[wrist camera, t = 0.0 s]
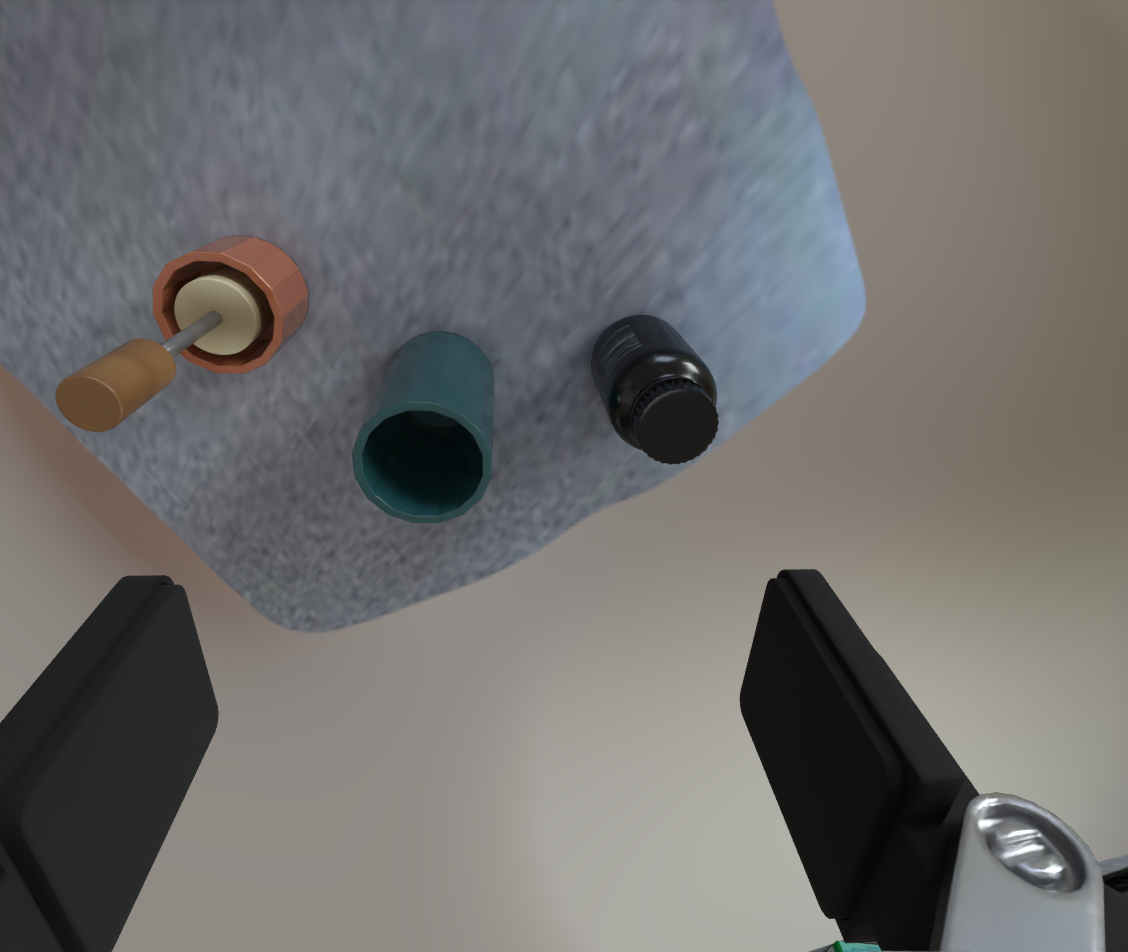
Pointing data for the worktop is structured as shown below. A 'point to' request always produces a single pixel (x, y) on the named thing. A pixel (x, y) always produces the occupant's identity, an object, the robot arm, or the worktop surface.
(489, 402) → the cup
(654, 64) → the worktop surface
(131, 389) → the brush
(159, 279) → the cup
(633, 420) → the supplement bottle
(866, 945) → the milk carton
